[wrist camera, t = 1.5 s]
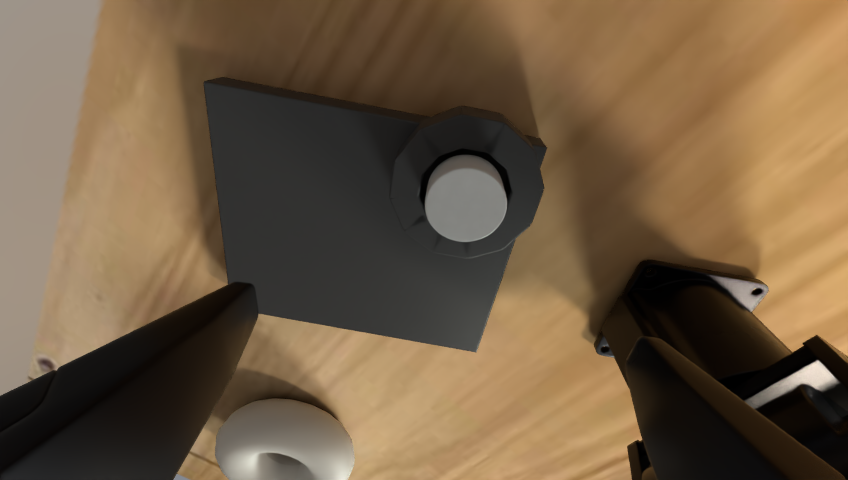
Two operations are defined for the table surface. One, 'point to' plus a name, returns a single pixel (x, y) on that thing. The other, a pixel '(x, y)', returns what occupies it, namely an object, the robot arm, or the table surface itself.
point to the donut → (283, 443)
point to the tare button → (465, 198)
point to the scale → (361, 210)
